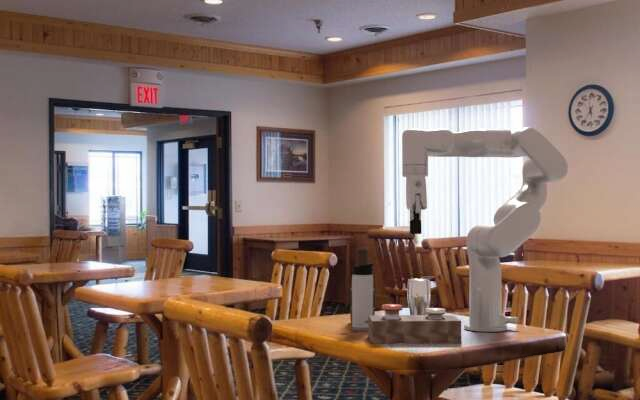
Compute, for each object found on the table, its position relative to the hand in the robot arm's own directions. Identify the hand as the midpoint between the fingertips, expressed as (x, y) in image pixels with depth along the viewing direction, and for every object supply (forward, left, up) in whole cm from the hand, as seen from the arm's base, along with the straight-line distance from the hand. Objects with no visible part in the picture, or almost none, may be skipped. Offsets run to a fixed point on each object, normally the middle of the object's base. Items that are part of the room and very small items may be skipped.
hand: (415, 233), depth 223 cm
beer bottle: (+14, -21, -29) cm, 39 cm away
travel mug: (+15, -6, -29) cm, 33 cm away
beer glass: (-2, -7, -29) cm, 30 cm away
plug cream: (-3, +12, -29) cm, 32 cm away
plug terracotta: (+9, +12, -28) cm, 32 cm away
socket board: (+3, +12, -29) cm, 32 cm away
